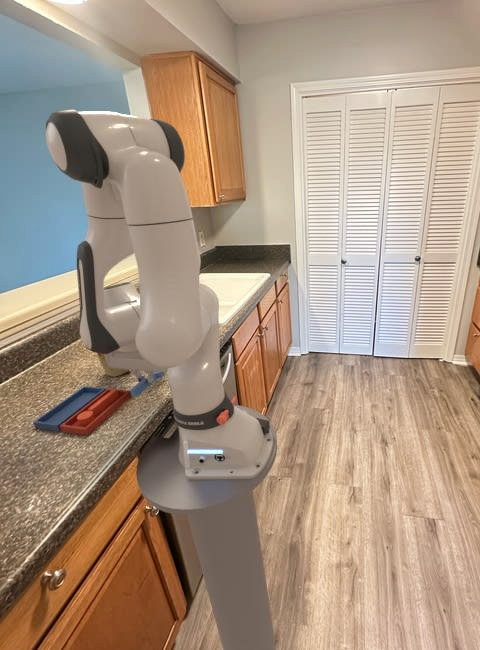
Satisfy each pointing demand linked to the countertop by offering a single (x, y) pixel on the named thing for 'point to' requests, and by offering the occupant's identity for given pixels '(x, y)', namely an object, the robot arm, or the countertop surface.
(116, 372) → the food model
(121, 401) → the red tray
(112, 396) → the red spoon
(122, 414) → the countertop surface
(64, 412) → the blue tray
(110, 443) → the countertop surface
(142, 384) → the blue spoon
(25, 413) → the countertop surface
